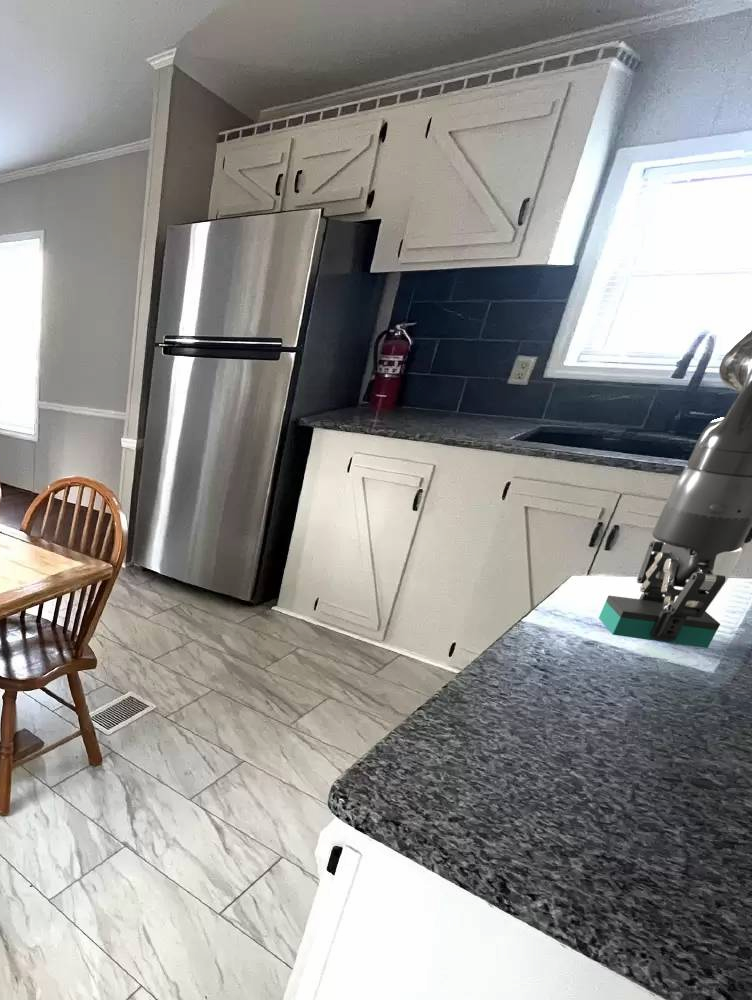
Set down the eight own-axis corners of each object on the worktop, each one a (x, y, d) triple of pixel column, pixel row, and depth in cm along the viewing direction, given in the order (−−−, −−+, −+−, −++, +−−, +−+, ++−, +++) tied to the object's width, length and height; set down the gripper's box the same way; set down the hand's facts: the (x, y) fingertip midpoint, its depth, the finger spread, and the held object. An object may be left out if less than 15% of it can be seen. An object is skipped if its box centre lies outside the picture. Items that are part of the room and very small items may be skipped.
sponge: (688, 630, 84) (700, 606, 83) (707, 648, 80) (720, 624, 79) (598, 618, 88) (608, 595, 87) (612, 634, 84) (623, 611, 83)
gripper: (790, 527, 70) (717, 660, 77) (725, 494, 81) (667, 612, 88) (695, 519, 73) (633, 647, 80) (645, 489, 84) (595, 603, 91)
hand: (651, 628), depth 84 cm, fingers closed on sponge, 5 cm apart
